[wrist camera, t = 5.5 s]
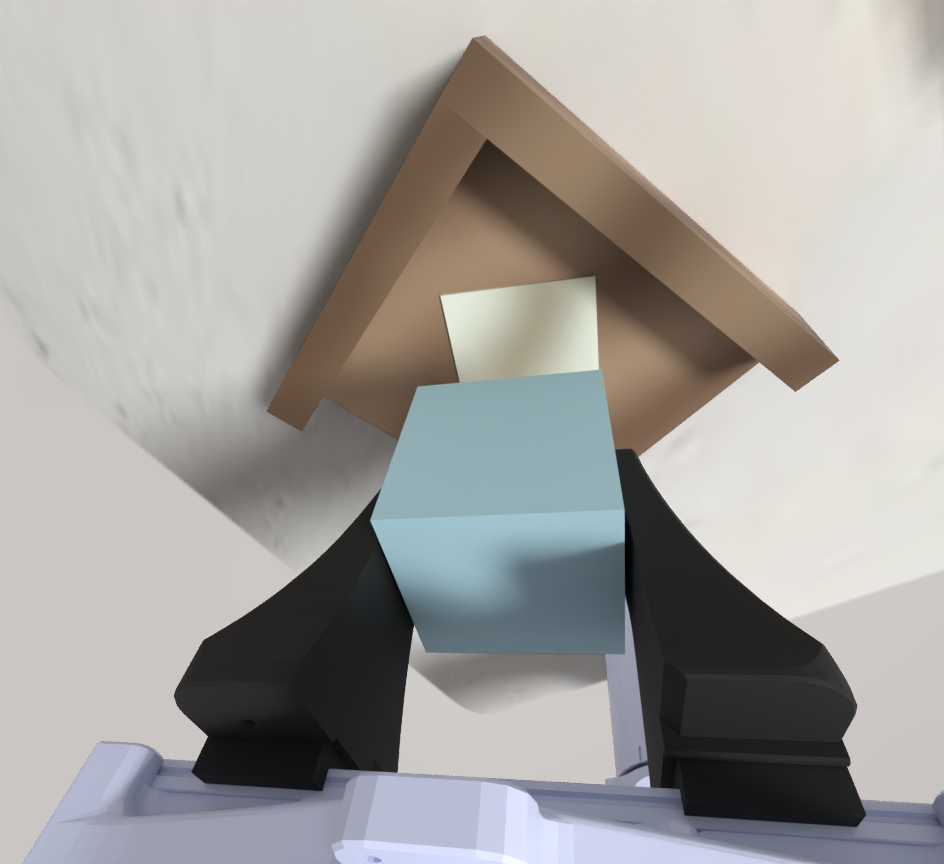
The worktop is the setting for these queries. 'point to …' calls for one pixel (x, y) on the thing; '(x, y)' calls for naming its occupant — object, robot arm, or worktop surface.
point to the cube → (508, 517)
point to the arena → (537, 275)
